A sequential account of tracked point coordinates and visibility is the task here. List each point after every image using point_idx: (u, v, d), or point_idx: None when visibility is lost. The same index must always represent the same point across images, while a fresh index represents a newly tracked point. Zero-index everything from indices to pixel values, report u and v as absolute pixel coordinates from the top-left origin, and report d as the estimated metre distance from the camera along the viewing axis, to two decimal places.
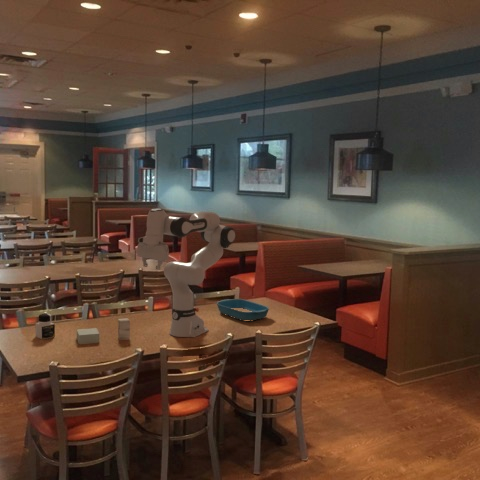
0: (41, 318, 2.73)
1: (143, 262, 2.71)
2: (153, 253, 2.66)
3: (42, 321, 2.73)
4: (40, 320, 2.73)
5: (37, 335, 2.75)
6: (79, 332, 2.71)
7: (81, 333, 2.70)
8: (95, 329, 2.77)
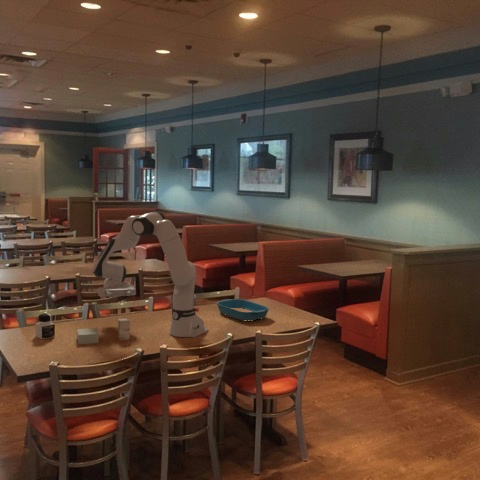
0: (41, 318, 2.73)
1: None
2: None
3: (42, 321, 2.73)
4: (40, 320, 2.73)
5: (37, 335, 2.75)
6: (79, 332, 2.72)
7: (81, 333, 2.70)
8: (95, 329, 2.77)
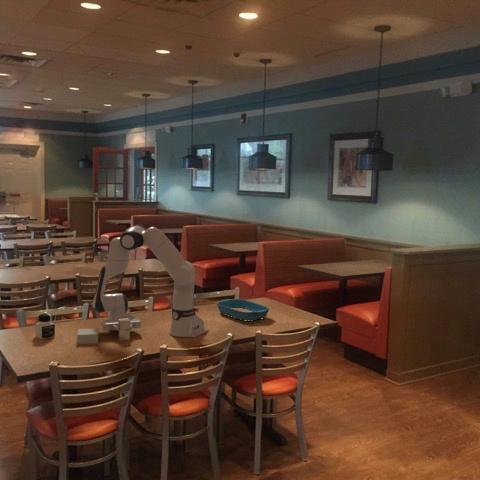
0: (41, 318, 2.73)
1: None
2: None
3: (42, 321, 2.73)
4: (40, 320, 2.73)
5: (37, 335, 2.75)
6: (79, 332, 2.72)
7: (80, 333, 2.70)
8: (96, 329, 2.77)
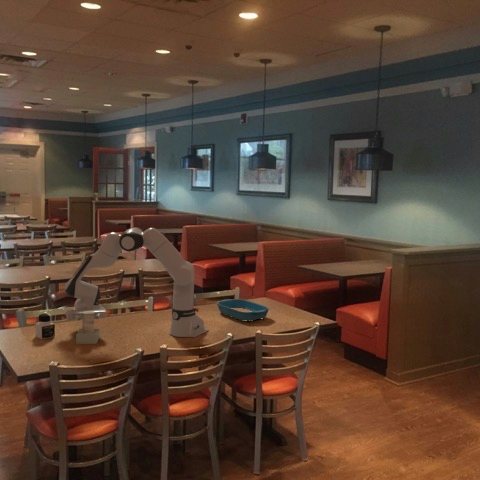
0: (41, 318, 2.73)
1: None
2: None
3: (42, 321, 2.73)
4: (40, 320, 2.73)
5: (37, 335, 2.75)
6: (79, 331, 2.72)
7: (80, 333, 2.71)
8: (96, 330, 2.76)
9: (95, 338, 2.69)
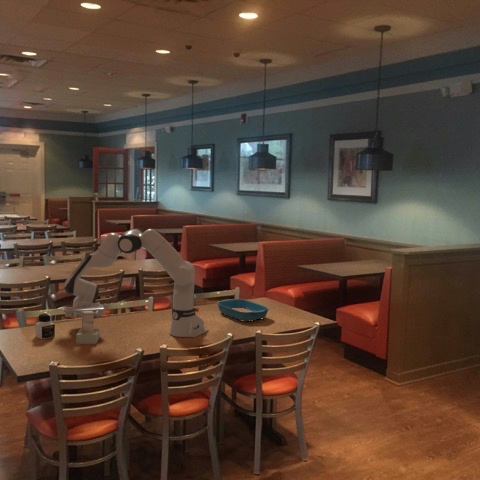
0: (41, 318, 2.73)
1: None
2: None
3: (42, 321, 2.73)
4: (40, 320, 2.73)
5: (37, 335, 2.75)
6: (79, 331, 2.72)
7: (80, 333, 2.71)
8: (96, 330, 2.76)
9: (95, 338, 2.69)
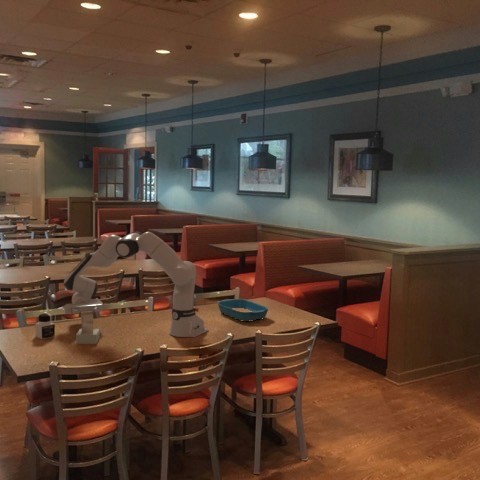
0: (41, 318, 2.73)
1: None
2: None
3: (42, 321, 2.73)
4: (40, 320, 2.73)
5: (37, 335, 2.75)
6: (79, 331, 2.72)
7: (80, 333, 2.71)
8: (97, 330, 2.76)
9: (95, 338, 2.69)
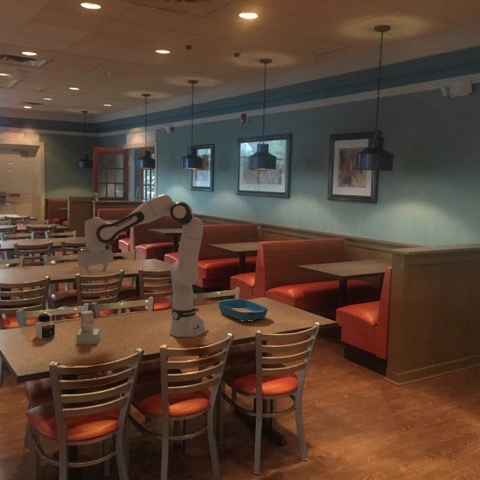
0: (41, 318, 2.73)
1: (103, 267, 2.92)
2: None
3: (42, 321, 2.73)
4: (40, 320, 2.73)
5: (37, 335, 2.75)
6: (79, 331, 2.72)
7: (80, 333, 2.70)
8: (97, 330, 2.76)
9: (95, 338, 2.69)
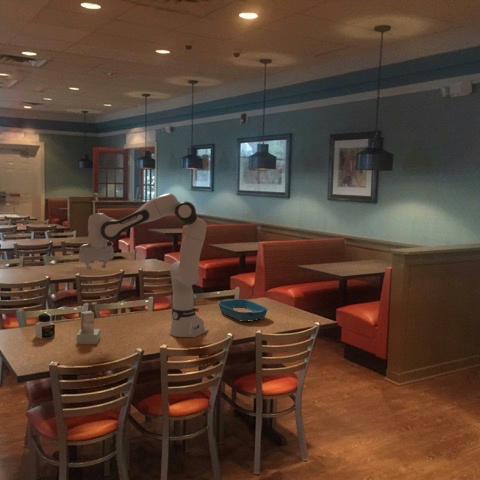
0: (41, 318, 2.73)
1: (103, 263, 2.91)
2: None
3: (42, 321, 2.73)
4: (40, 320, 2.73)
5: (37, 335, 2.75)
6: (80, 332, 2.72)
7: (80, 333, 2.70)
8: (97, 330, 2.76)
9: (96, 338, 2.69)
